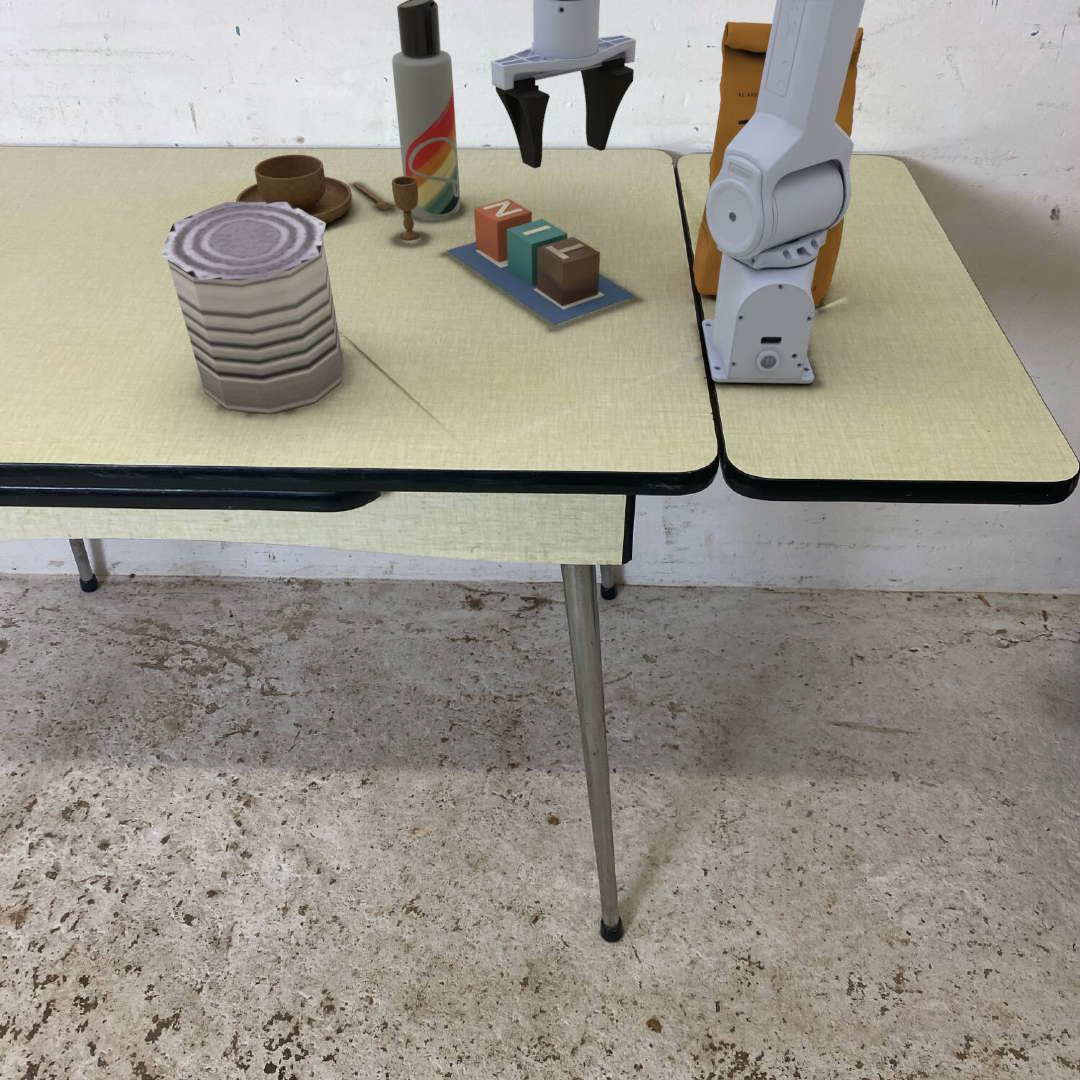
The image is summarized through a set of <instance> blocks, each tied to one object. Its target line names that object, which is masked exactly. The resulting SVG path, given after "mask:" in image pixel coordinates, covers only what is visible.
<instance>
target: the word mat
mask: <svg viewBox="0 0 1080 1080" xmlns="http://www.w3.org/2000/svg"><path fill="white" fill-rule="evenodd" d="M446 251H447V252H448V253H449V254H451V255H452V256H453V257H455V258H456V259H458V260H459V261H460V262H462V263H464V264H465V265H467V266H468V267H469V268H471V269H472V270H474V271H475V272H477V273H478V274H480V275H481V276H482V277H484V278H485V279H486V280H488V281H489V282H491V283H492V284H494V285H495V286H497V287H498V288H500V289H501V290H502V291H505V293H507V294H509V295H510V296H512V297H513V298H514V299H516V300H517V301H518V302H520V303H521V304H523V305H525V306H526V307H528V308H529V309H530V310H532V311H533V312H534V313H536V314H537V315H539V316H541V318H543V319H545V320H546V321H548V322H549V323H551V324H552V325H553V326H555V325H559V324H562V323H564V322H567V321H570V320H572V319H575V318H578V317H581V316H584V315H587V314H590V313H592V312H595V311H598V310H601V309H604V308H607V307H609V306H612V305H615V304H618V303H620V302H623V301H626V300H629V299H632V298H635V297H636V295H635V294H633V293H631V292H629V291H628V290H627V289H625V288H624V287H621V286H619V285H618V284H616V283H615V282H613V281H611V280H609V279H608V278H606V277H605V276H603V275H601V274H600V273H599V290H598V295H595V296H592V297H589V298H586V299H583V300H580V301H577V302H573V303H570V304H567V305H564V306H562V305H560V304H559V303H557V302H556V301H554V300H553V299H551V298H550V297H548V296H547V295H546V294H544V293H543V292H541V291H540V290H538V288H537V284H535V285H530V284H529V283H527V282H526V281H524V280H523V279H521V278H520V277H518V276H517V275H515V274H514V273H512V272H511V271H509V270H508V259H507V260H504V261H501V262H497V261H496V260H494V259H493V258H491V257H490V256H488V255H487V254H485V253H484V252H482V251H481V250H479V249H477V248H476V241H475V242H471V243H467V244H464V245H460V246H457V247H454V248H451V249H447V250H446Z"/></svg>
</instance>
